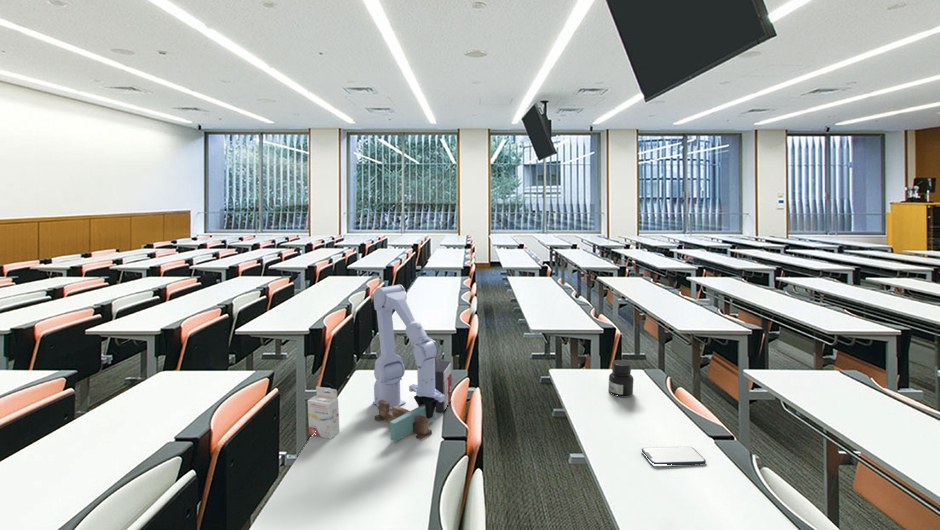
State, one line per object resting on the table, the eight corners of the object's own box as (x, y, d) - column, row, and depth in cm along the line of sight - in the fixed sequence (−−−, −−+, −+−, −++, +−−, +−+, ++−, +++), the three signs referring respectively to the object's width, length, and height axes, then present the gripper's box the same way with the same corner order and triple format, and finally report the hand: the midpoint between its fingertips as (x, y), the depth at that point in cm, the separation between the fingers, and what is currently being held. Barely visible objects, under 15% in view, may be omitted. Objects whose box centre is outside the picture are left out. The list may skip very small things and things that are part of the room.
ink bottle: (603, 389, 192) (604, 359, 190) (624, 386, 194) (625, 357, 192) (616, 399, 183) (618, 368, 181) (637, 396, 185) (639, 366, 183)
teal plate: (395, 441, 151) (394, 423, 150) (390, 439, 152) (389, 421, 151) (435, 418, 165) (434, 402, 164) (431, 417, 166) (430, 400, 165)
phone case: (691, 450, 148) (639, 452, 147) (691, 445, 148) (639, 447, 146) (707, 467, 139) (652, 468, 138) (708, 461, 139) (653, 463, 138)
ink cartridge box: (308, 435, 157) (305, 391, 155) (317, 428, 162) (315, 385, 159) (331, 439, 154) (328, 395, 152) (340, 432, 159) (338, 388, 157)
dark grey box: (445, 413, 172) (445, 372, 170) (433, 412, 173) (432, 371, 170) (452, 400, 182) (452, 361, 180) (441, 399, 183) (441, 360, 181)
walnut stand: (374, 419, 167) (374, 402, 166) (386, 414, 171) (385, 398, 170) (420, 440, 153) (420, 421, 153) (431, 433, 157) (431, 416, 156)
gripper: (402, 375, 162) (403, 414, 164) (433, 386, 153) (434, 427, 155) (417, 369, 168) (418, 407, 170) (449, 380, 159) (449, 419, 161)
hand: (427, 416), depth 163 cm, fingers closed on teal plate, 2 cm apart
